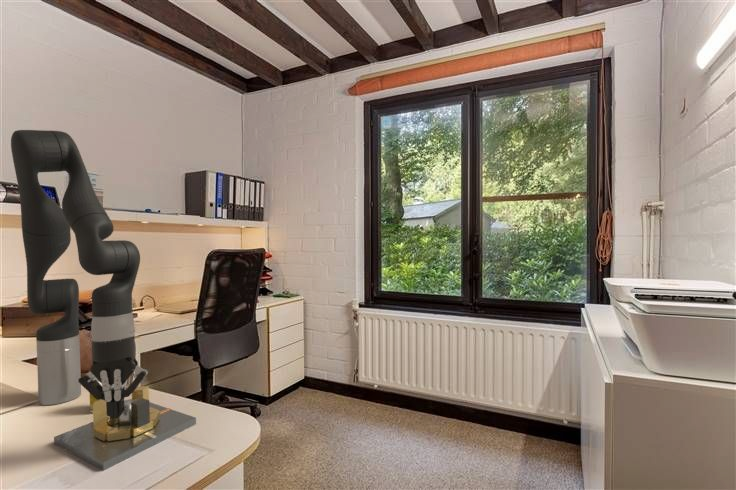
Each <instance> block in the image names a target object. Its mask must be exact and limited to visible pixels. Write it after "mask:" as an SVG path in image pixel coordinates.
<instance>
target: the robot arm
mask: <svg viewBox="0 0 736 490" xmlns="http://www.w3.org/2000/svg"><path fill="white" fill-rule="evenodd" d="M10 149H11V155H12V160H13V161H12V162H13V167H14V171H15V177H16V182H17V186H18V193H19V202H20V216H21V217H20V218H21V220H20V221H21V232H22V233H21V234H22V241H23V246H24V254H25V259H26V260H25V261H26V283H27V284H26V285H27V286H26V287H27V289H26V294H27V295H26V296H27V305H28V308H29V311H30V312H31V313H32V314H34V315H47V314H49V315H50V314H58V313H59V314H60V313H64V315H63V316H62V317H60V318H59V319H57V320H55V321H54V322H51V323H49V324H48V323H47V324H46V325H43V326H41V327H40V328H38V329H37V330H36V333H35V339H36V341H35V342H36V362H37V363H36V364H37V365H36V366H37V393H38V394H37V395H38V404H39V405H43V406H51V405H58V404H62V403H63V404H64V403H66V402H69V401H72V400H74V399H77V398H79V397H80V396H81V395H82V387H83V388H84V389H85V390H86V391H87V392H88V393H89V395H90V394H91V395H92V396H93V397H94V398H95V399H97V400H100V399H102V400H105V401H106V408H107V416H110V419H115V418H119V417H120V416H121V414H122V413H123V412H124V410H125V407H124V400H125V398H129V397H130V396H132V393H133V392H134V390H135V389H136V388H137V387H138V386H140V384H141V383H142V382H143V380H144V379H145V378H146V377H147V375H148V374H149V371H150V370H149V368H142V367H141V366H139V363H138V360H137V359H136V344H135V343H136V342H135V341H136V337H135V335H136V333H135V332H136V328H135V320H134V315H133V295H132V294H133V291H134V290H133V289H134V286H135V285H136V284H135V282H136V279H137V275H138V272H139V268H140V263H141V254H140V250H139V249H138V246H137V245H136V244H135V243H134V242H132V241H130V240H121V239H120V240H106V239H107V238H109V237H110V236H112V234H113V233H114V224H113V222H112V220H111V218H110V216H109V215H108V213H107V211H106V210H105V209H104V207H103V205H102V203H101V201H100V200H99V197H98V196H97V194H96V192H95V190H94V189H95V188H94V187H93V184H92V181H91V179H90V176H89V173H88V171H87V168H86V165H85V163H84V161H83V157H82V154H81V152H80V150H79V148H78V146H77V144H76V142H75V140H74V139H73V137H72V136H71V135H70V134H69V133H68V132H65V131H61V130H44V129H43V130H42V129H39V130H38V129H19V130H14V132H12V134H11V139H10ZM54 172H55V173H57V172H66V173H67V175H68V176H69V180H68V185H67V188H66V189H65V192H64V194H63V197H62V201H61V206H60V205H59V204H58V203H57V202H56V201H54V199H53V198H52V197H50V195H48V194H47V193H48V192H46V191H45V190H44V189H43V187H42V186H41V183H40V181H39V178H38V176H39V173H54ZM71 231H73V233H74V236H75V241H76V246H77V255H78V262H79V265H80V266H81V268H82V269H83V270H84V271H85V272H86V273H88V274H89V275H93V276H106V275H112V276H111V279H110V281H109V282H108V283H106V284H104V285H101V286H98V287H96V288H95V289H93V291H92V292H91V317H92V319H91V326H90V328H91V329H90V330H91V331H90V333H91V337H90V338H91V340H90V341H91V360H92V364H91V366H90V368H89V369H90V370H89V371H88V372H87V373H85V374H84V375H82V374H81V348H80V347H81V346H80V345H81V344H80V327H79V325H80V324H79V304H80V301H79V300H80V286H79V283H78V281H77V280H76V279H75V278H57V279H45V278H46V277H45V276H46V275H47V273H48V271H49V270H50V269H51V267H52V266H53V265H54V264H55V263H56V262H57V261H58V260H59V259H60V258H61V256H62V255H63V254H64V253H65V252H66V251H67V249H68V248H69V246H70V244H71V241H72V238H71V237H72V236H71ZM133 373H134V374H133ZM132 374H133V378H134V380H133V381H132V382H131V383H130V384H129V386H128V387H127V383H128V380H129V379H130V378H131V376H132ZM96 378H97V379H98V380H99V381H100V382H101V383H102V386H101V385H100V384H99V383H98V382H97V381H96V380H95V379H96ZM126 387H127V388H126Z"/></svg>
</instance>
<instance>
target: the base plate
mask: <svg viewBox="0 0 736 490" xmlns="http://www.w3.org/2000/svg"><path fill="white" fill-rule="evenodd" d="M134 401H137V399H132V398H131V399H124V407H125V410H124V412H123V413H122V414H121V416H120V417H119V418H117V423H116V424H113V425H111V427H112V428H119V427H127V426H132V422H131V403H132V402H134ZM149 407H152V408H154V409H157V410H159V411H160V419H159V420H158V422H157V424H156V426H155V427H153V428H152V429H150V430H148V431H146V432H143V433H141V434H139V435H137V436H135V437H133V436H131V437H130V438H126V439H119V440H113V441H107V440H106V441H103V440H101V439H98V438H96V437H94V434H93V427H94V425H93V421H92V422H89V423H86V424H84V425H81V426H79V427H76V428H74V429H71V430H69V431H65V432H63V433H61V434H58V435H56V436H54V437H53V444H54V445H55V446H57V447H59V448H61V449H63V450H65V451H66V452H69V453H71V454H72V455H75V456H76V457H78V458H80V459H81V460H83V461H85V462H88V463H89V464H91V465H93V466H95V467H97V468H99V469H100V470H102V471H106V470H107V469H109V468H111V467H114V466H115V465H117V464H119V463H121V462H123V461H125V460H127V459H129V458H131V457H134V456H135V455H136V454H139V453H142V452H144V451H145V450H147V449H149V448H150V447H153V446H156V445H157V444H158V443H161V442H163V441H165V440H166V439H169V438H171V437H173V436H175V435H177V434H179V433H181V432H184V431H185V430H187V429H190V428H191V427H193V426H194V425H197V417H195V416H193V415H190V414H187V413H183V412H180V411H177V410H173V409H171V408H170V407H166V406H162V405H159V404H155V403H154V402H150V401H149Z"/></svg>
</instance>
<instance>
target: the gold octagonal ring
mask: <svg viewBox="0 0 736 490" xmlns="http://www.w3.org/2000/svg"><path fill="white" fill-rule="evenodd" d="M149 396H150V390H149V386H148V385H143V386H142V385H141V386H140V385H138V387H137V388H136V389H135V390H134V392H133V393H131V399H137V401H134V402H132V403H131V422H132V426H127V427H119V428H112V427H111V425H113V424H116V423H117V418H115V419H110V416H107V408H106V401H105V400H100V401H95V402H94V404H93V413H92V419H93V421H92V422H93V425H94V427H93V434H94V437H96V438H98V439H101V440H103V441H106V440H107V441H113V440H119V439H126V438H130V437H131V436H133V437H135V436H137V435H139V434H141V433H143V432H146V431H148V430H150V429H152V428H153V427H155V426H156V424H157V422H158V420H159V419H160V411H159V410H157V409H154V408H152V407H149V402H150V397H149Z"/></svg>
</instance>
